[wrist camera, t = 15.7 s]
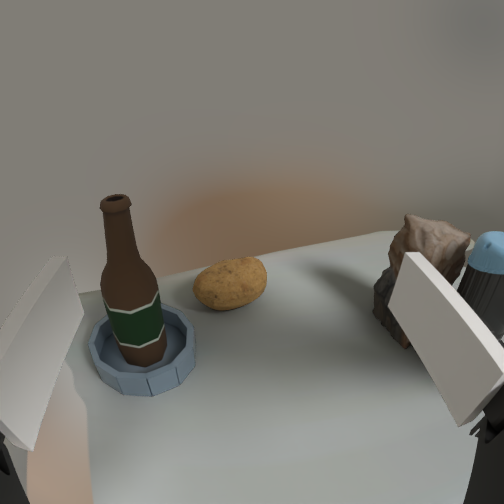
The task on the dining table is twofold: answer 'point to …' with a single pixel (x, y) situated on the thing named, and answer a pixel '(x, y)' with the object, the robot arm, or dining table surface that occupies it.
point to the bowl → (154, 376)
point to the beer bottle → (130, 289)
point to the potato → (231, 283)
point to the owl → (432, 248)
